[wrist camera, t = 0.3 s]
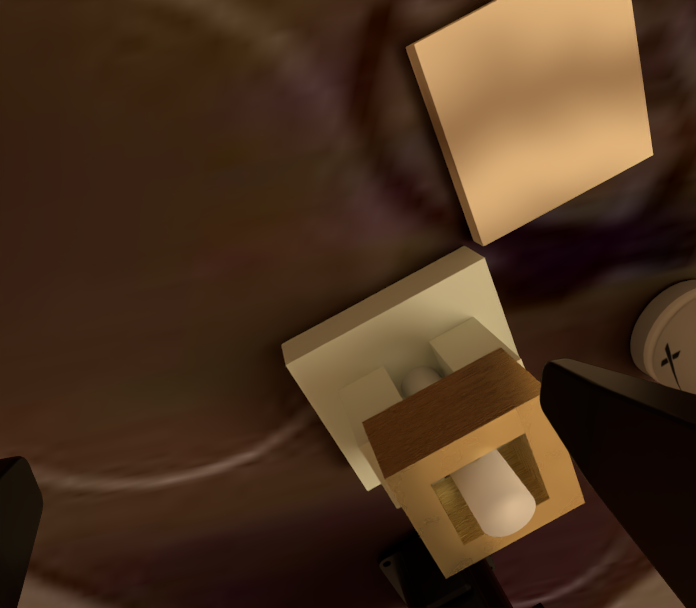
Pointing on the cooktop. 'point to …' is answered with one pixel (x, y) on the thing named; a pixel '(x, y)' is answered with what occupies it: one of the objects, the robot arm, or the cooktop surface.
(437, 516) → the collar
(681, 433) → the robot arm
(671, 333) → the travel mug
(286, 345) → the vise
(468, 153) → the pad
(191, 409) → the cooktop surface
